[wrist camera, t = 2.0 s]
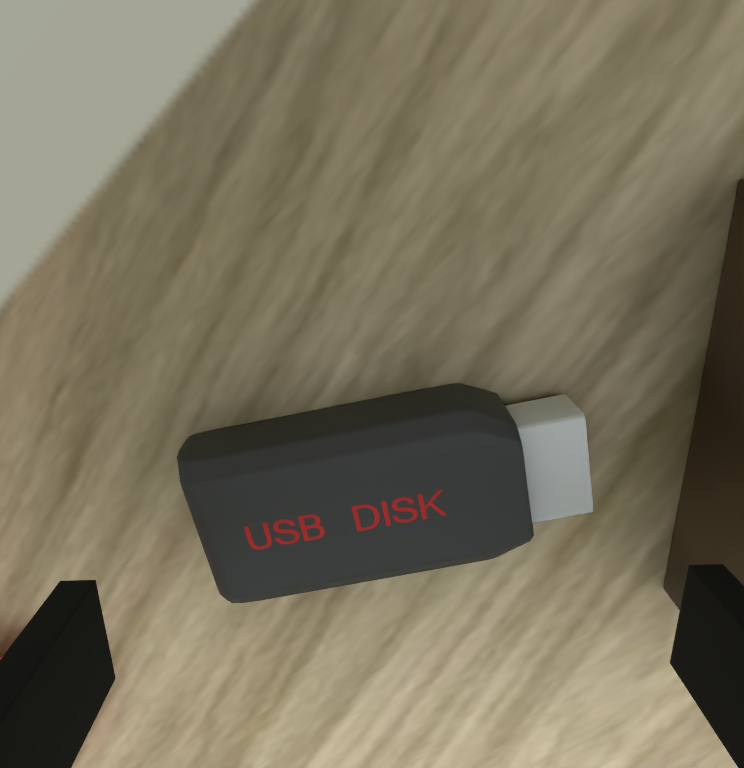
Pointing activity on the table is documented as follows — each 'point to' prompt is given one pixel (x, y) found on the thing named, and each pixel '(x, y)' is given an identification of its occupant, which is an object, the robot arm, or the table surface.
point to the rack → (716, 437)
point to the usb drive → (381, 488)
